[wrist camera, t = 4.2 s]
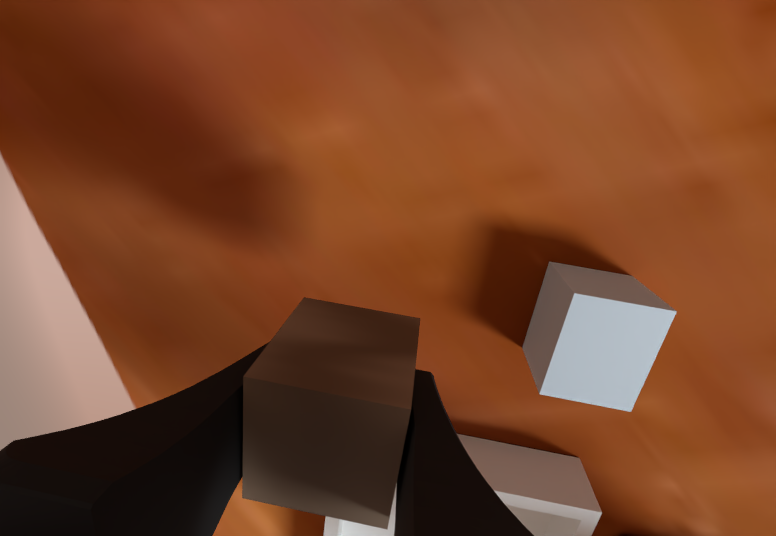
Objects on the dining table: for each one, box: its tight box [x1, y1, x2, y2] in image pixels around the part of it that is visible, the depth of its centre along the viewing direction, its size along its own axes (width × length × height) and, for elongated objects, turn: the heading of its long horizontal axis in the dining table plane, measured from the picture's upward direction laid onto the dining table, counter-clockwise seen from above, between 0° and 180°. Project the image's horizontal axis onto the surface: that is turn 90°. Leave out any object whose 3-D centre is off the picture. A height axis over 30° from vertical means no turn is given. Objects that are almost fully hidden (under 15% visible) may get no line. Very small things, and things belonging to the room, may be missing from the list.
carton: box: [522, 261, 677, 412], centre depth 19 cm, size 4×5×4 cm
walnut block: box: [242, 297, 420, 529], centre depth 12 cm, size 4×4×4 cm
